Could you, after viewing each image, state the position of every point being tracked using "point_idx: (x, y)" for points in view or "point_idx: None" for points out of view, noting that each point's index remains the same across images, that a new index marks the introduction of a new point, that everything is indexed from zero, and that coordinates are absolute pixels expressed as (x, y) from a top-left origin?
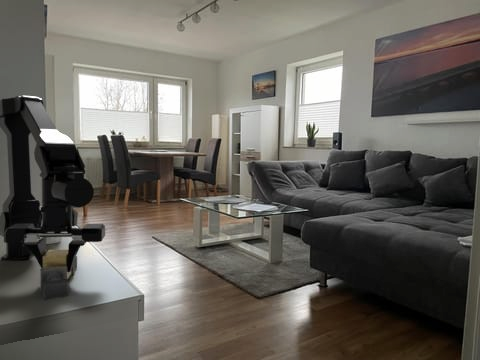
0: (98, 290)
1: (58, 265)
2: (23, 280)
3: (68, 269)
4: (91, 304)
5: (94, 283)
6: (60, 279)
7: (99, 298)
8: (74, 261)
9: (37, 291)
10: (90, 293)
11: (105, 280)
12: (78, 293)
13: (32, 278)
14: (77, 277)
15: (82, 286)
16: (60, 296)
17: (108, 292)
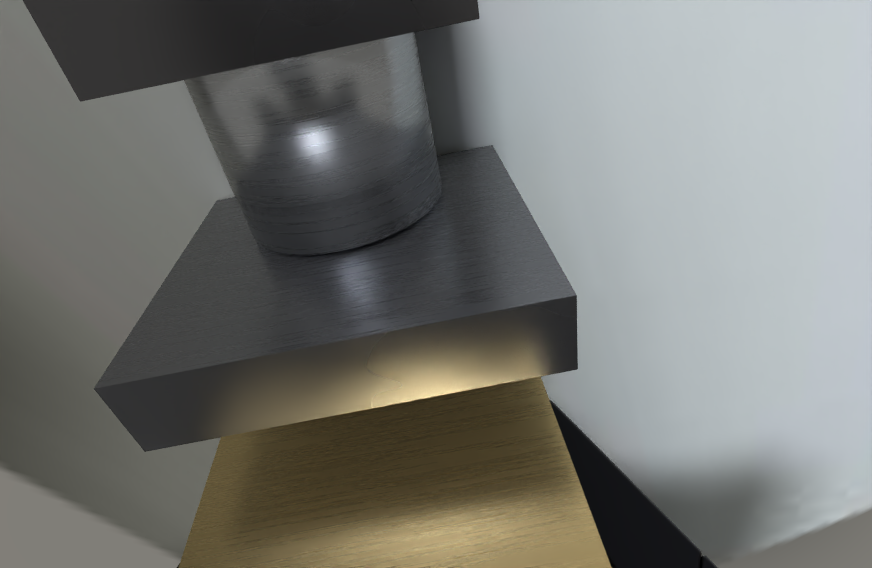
0: (771, 440)
1: None
2: (56, 377)
3: None
4: (728, 557)
5: (744, 349)
6: None
7: (771, 512)
8: (538, 233)
9: None
10: (718, 478)
11: (848, 280)
12: (641, 487)
13: (95, 326)
14: (560, 244)
15: (650, 406)
16: None
17: (835, 453)
